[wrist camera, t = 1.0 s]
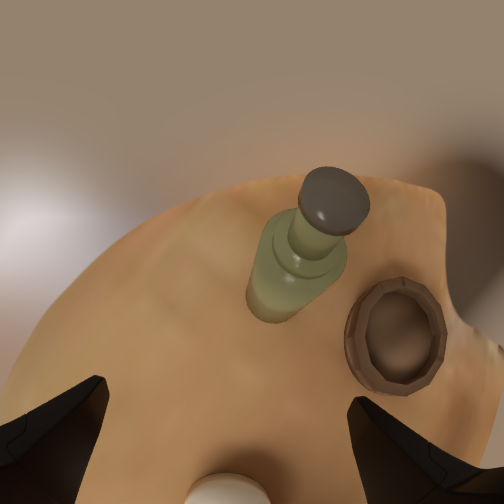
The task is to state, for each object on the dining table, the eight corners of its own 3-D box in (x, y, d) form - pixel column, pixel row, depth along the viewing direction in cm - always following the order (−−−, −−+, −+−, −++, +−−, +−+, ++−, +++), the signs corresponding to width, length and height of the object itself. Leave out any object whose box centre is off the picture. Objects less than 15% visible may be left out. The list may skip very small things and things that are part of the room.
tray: (447, 335, 23) (460, 331, 21) (391, 417, 20) (404, 419, 18) (388, 263, 26) (400, 255, 24) (320, 339, 22) (329, 336, 20)
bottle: (311, 299, 24) (408, 208, 10) (271, 335, 22) (344, 278, 9) (275, 259, 25) (329, 135, 11) (234, 292, 23) (249, 181, 10)
